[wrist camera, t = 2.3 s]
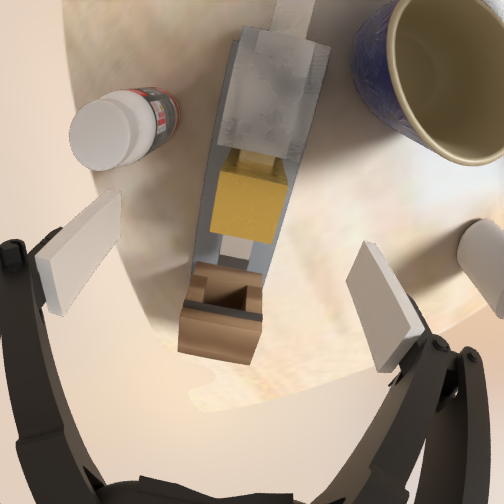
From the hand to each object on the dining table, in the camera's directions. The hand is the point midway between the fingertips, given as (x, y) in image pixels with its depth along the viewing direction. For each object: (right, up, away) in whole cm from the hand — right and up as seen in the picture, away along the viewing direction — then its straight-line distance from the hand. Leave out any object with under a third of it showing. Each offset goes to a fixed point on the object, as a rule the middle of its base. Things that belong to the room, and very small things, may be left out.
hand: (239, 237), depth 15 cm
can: (+29, +1, +14) cm, 32 cm away
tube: (+1, +9, +7) cm, 12 cm away
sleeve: (+2, +13, +7) cm, 15 cm away
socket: (-2, -4, +18) cm, 19 cm away
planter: (+14, +16, +5) cm, 22 cm away
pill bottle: (-8, +12, +9) cm, 17 cm away
